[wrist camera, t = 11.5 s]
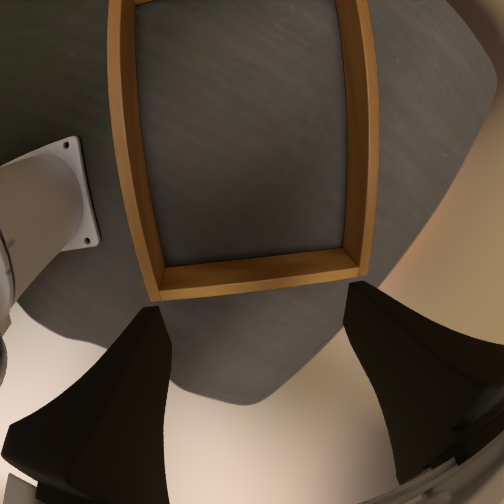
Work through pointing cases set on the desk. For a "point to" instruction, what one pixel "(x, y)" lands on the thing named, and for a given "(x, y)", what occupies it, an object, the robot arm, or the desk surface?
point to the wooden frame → (264, 268)
